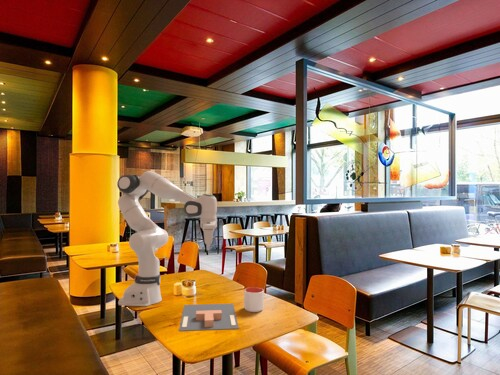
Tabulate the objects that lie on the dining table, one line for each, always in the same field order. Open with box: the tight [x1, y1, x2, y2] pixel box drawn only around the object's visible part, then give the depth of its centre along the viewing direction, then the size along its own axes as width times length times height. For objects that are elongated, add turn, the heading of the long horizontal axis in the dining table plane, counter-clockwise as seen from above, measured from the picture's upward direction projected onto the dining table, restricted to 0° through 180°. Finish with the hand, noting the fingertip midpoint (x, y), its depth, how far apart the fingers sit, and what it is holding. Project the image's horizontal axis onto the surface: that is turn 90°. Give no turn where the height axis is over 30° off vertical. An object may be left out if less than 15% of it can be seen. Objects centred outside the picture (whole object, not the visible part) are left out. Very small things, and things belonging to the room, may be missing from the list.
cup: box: [243, 287, 265, 313], centre depth 166 cm, size 10×10×10 cm
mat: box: [178, 303, 240, 332], centre depth 156 cm, size 26×32×1 cm
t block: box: [196, 310, 222, 327], centre depth 148 cm, size 12×12×3 cm
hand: (208, 249), depth 173 cm, fingers closed
